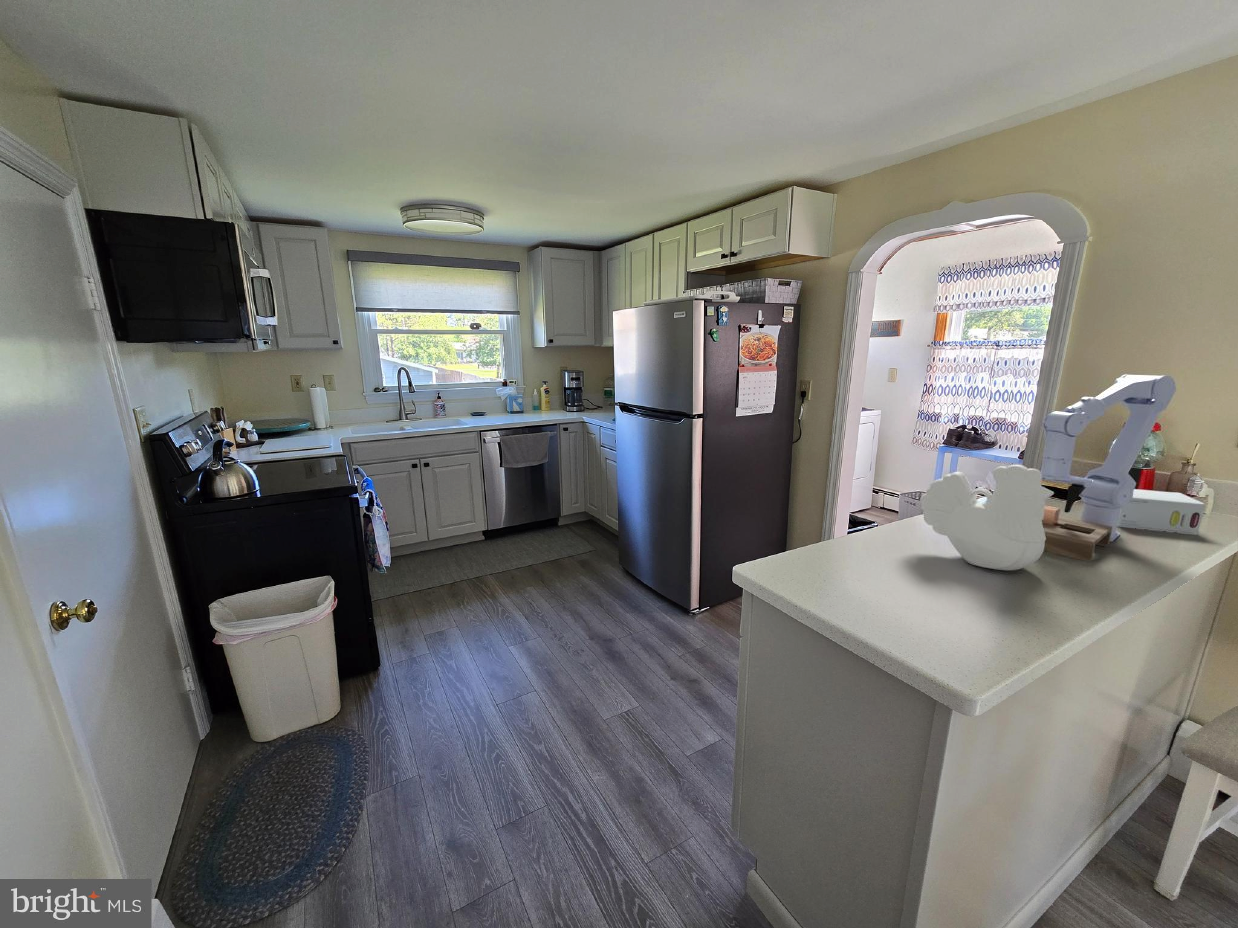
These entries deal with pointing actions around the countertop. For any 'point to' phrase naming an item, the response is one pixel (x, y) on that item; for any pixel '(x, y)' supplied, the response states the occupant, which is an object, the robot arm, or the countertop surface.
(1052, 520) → the brown piece
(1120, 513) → the supplement box
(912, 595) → the countertop surface
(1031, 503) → the decorative rooster
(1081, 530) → the keyhole board
